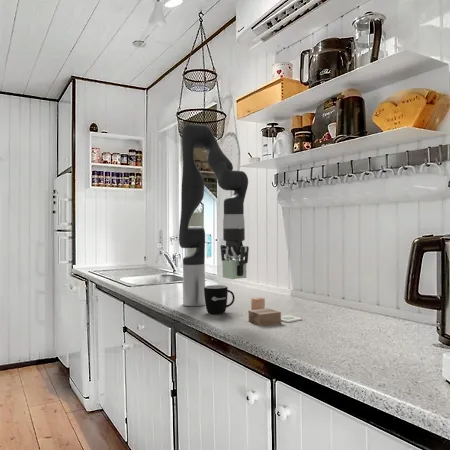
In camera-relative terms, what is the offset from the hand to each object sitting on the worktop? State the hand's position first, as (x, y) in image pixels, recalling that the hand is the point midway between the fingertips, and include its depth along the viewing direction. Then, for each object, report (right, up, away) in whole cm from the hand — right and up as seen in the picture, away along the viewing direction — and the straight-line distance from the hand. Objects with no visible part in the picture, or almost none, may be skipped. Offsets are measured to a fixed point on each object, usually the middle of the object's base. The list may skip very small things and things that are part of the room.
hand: (234, 274), depth 151 cm
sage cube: (0, -1, 0) cm, 1 cm away
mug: (-5, -16, +13) cm, 21 cm away
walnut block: (+10, -16, -4) cm, 19 cm away
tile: (+19, -16, -1) cm, 24 cm away
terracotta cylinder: (+9, -16, +8) cm, 20 cm away
